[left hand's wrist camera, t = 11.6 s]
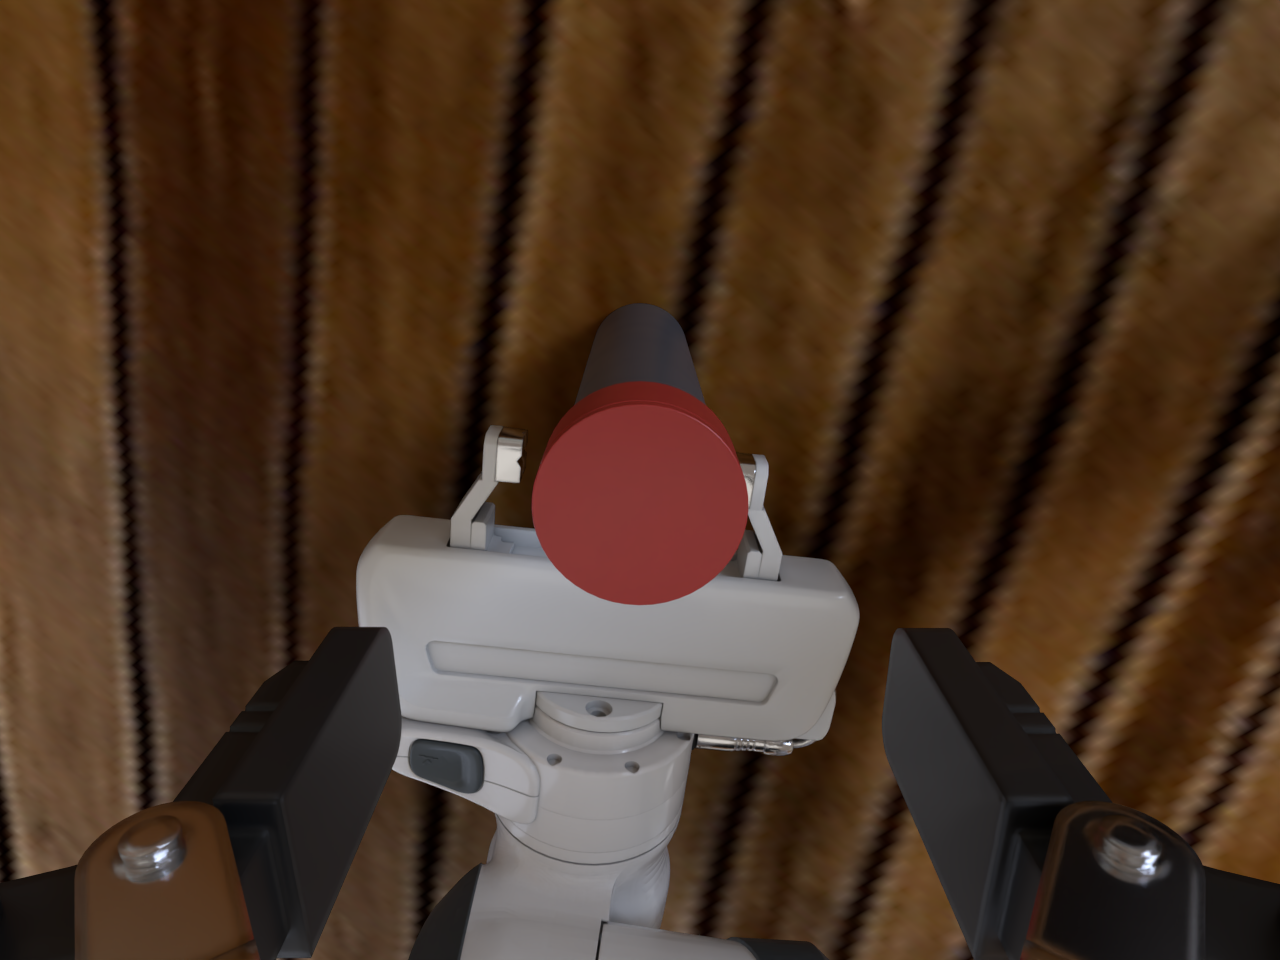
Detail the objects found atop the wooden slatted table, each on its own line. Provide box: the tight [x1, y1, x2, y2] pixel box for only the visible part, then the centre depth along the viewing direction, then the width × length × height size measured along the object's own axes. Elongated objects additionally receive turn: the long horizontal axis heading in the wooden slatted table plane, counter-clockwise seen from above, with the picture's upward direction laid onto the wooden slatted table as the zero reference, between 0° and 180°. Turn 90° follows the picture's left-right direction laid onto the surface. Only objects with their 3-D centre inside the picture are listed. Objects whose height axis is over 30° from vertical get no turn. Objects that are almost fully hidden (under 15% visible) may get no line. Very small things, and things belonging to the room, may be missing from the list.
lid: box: [531, 381, 748, 605], centre depth 19 cm, size 5×5×2 cm
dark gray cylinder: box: [574, 303, 706, 405], centre depth 27 cm, size 4×4×18 cm
